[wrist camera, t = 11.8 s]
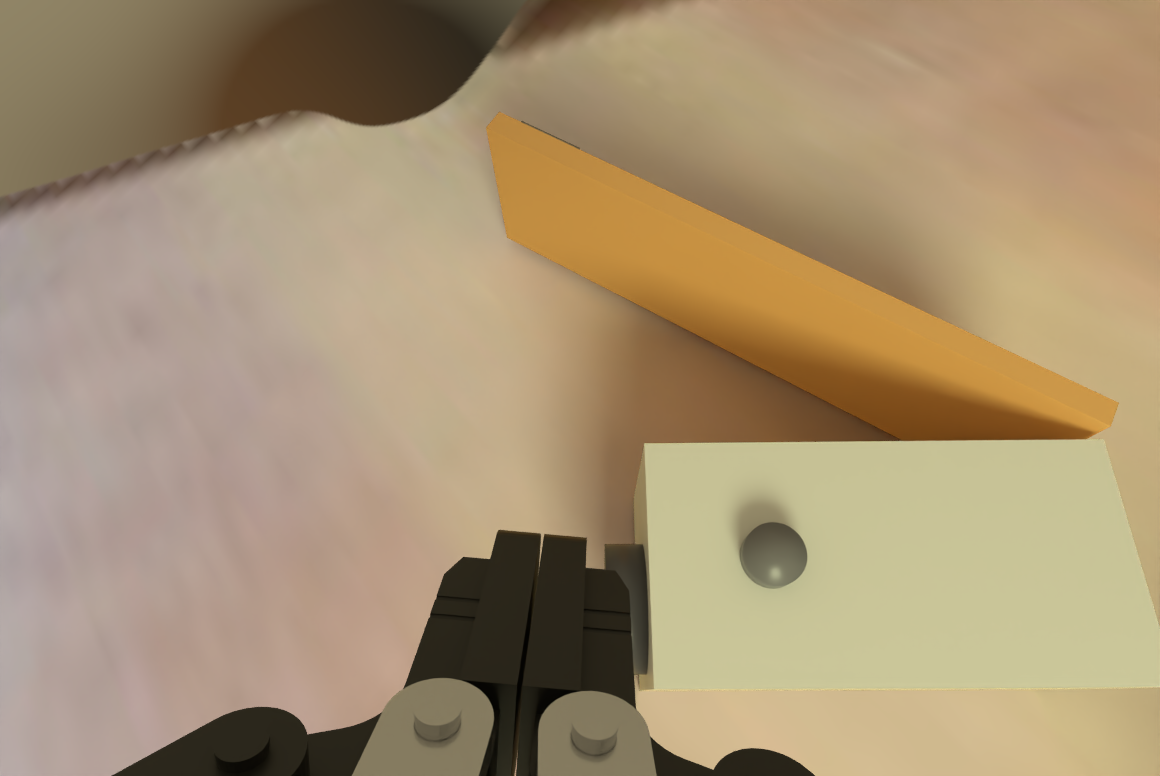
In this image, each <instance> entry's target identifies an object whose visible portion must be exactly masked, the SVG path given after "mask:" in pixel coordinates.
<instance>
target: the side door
mask: <svg viewBox="0 0 1160 776" xmlns="http://www.w3.org/2000/svg"><path fill="white" fill-rule="evenodd" d="M486 130H487V135H488V140H489V145H490V150H491V156H492V161H493V166H494V171H495V177H496V182H497V187H498V192H499V197H500V203H501V208H502V213H503V218H504V223H505V229H506V234H507V238H509V239H511V240H513V241H515V242H517V243H519V244H521V245H523V246H525V247H527V248H529V249H530V250H532V251H534V252H536V253H538V254H540V255H542V256H544V257H546V258H548V259H550V260H552V261H554V262H556V263H558V264H560V265H562V266H564V267H566V268H567V269H569V270H571V271H573V272H575V273H577V274H579V275H581V276H583V277H585V278H587V279H589V280H591V281H593V282H595V283H597V284H599V285H601V286H602V287H604V288H606V289H608V290H610V291H612V292H614V293H616V294H618V295H620V296H622V297H624V298H626V299H628V300H630V301H632V302H634V303H636V304H638V305H639V306H641V307H643V308H645V309H647V310H649V311H651V312H653V313H655V314H657V315H659V316H661V317H663V318H665V319H667V320H669V321H671V322H673V323H675V324H676V325H678V326H680V327H682V328H684V329H686V330H688V331H690V332H692V333H694V334H696V335H698V336H700V337H702V338H704V339H706V340H708V341H710V342H712V343H713V344H715V345H717V346H719V347H721V348H723V349H725V350H727V351H729V352H731V353H733V354H735V355H737V356H739V357H741V358H743V359H745V360H747V361H749V362H750V363H752V364H754V365H756V366H758V367H760V368H762V369H764V370H766V371H768V372H770V373H772V374H774V375H776V376H778V377H780V378H782V379H784V380H786V381H787V382H789V383H791V384H793V385H795V386H797V387H799V388H801V389H803V390H805V391H807V392H809V393H811V394H813V395H815V396H817V397H819V398H821V399H823V400H824V401H826V402H828V403H830V404H832V405H834V406H836V407H838V408H840V409H842V410H844V411H846V412H848V413H850V414H852V415H854V416H856V417H858V418H860V419H861V420H863V421H865V422H867V423H869V424H871V425H873V426H875V427H877V428H879V429H881V430H883V431H885V432H887V433H889V434H891V435H893V436H895V437H896V438H898V439H900V440H902V441H965V440H1076V439H1087V438H1089V437H1091V436H1093V435H1095V434H1097V433H1099V432H1100V431H1102V430H1104V429H1106V428H1108V427H1110V426H1111V424H1112V421H1113V418H1114V415H1115V412H1116V410H1117V407H1118V404H1119V403H1118V402H1116V401H1114V400H1111V399H1109V398H1107V397H1105V396H1103V395H1101V394H1099V393H1097V392H1094V391H1092V390H1090V389H1088V388H1086V387H1084V386H1082V385H1080V384H1077V383H1075V382H1073V381H1071V380H1069V379H1067V378H1065V377H1063V376H1060V375H1058V374H1056V373H1054V372H1052V371H1050V370H1048V369H1045V368H1043V367H1041V366H1039V365H1037V364H1035V363H1033V362H1031V361H1028V360H1026V359H1024V358H1022V357H1020V356H1018V355H1016V354H1014V353H1011V352H1009V351H1007V350H1005V349H1003V348H1001V347H999V346H997V345H994V344H992V343H990V342H988V341H986V340H984V339H982V338H980V337H977V336H975V335H973V334H971V333H969V332H967V331H965V330H962V329H960V328H958V327H956V326H954V325H952V324H950V323H948V322H945V321H943V320H941V319H939V318H937V317H935V316H933V315H931V314H928V313H926V312H924V311H922V310H920V309H918V308H916V307H914V306H911V305H909V304H907V303H905V302H903V301H901V300H899V299H897V298H894V297H892V296H890V295H888V294H886V293H884V292H882V291H880V290H877V289H875V288H873V287H871V286H869V285H867V284H865V283H862V282H860V281H858V280H856V279H854V278H852V277H850V276H848V275H845V274H843V273H841V272H839V271H837V270H835V269H833V268H831V267H828V266H826V265H824V264H822V263H820V262H818V261H816V260H814V259H811V258H809V257H807V256H805V255H803V254H801V253H799V252H797V251H794V250H792V249H790V248H788V247H786V246H784V245H782V244H780V243H777V242H775V241H773V240H771V239H769V238H767V237H765V236H762V235H760V234H758V233H756V232H754V231H752V230H750V229H748V228H745V227H743V226H741V225H739V224H737V223H735V222H733V221H731V220H728V219H726V218H724V217H722V216H720V215H718V214H716V213H714V212H711V211H709V210H707V209H705V208H703V207H701V206H699V205H697V204H694V203H692V202H690V201H688V200H686V199H684V198H682V197H679V196H677V195H675V194H673V193H671V192H669V191H667V190H665V189H662V188H660V187H658V186H656V185H654V184H652V183H650V182H648V181H645V180H643V179H641V178H639V177H637V176H635V175H633V174H631V173H628V172H626V171H624V170H622V169H620V168H618V167H616V166H614V165H611V164H609V163H607V162H605V161H603V160H601V159H599V158H597V157H594V156H592V155H590V154H588V153H586V152H584V151H582V150H580V148H578V147H576V146H574V145H572V144H570V143H568V142H566V141H563V140H561V139H559V138H557V137H555V136H553V135H551V134H549V133H546V132H544V131H542V130H540V129H538V128H536V127H534V126H531V125H529V124H527V123H525V122H523V121H521V122H520V121H518V120H516V119H514V118H511V117H509V116H507V115H505V114H503V113H501V112H499V113H498V114H497V115H496V116H495V118H494V119H493V120H492V121H491V122H490V124H489V125H488V126H487V127H486Z"/></svg>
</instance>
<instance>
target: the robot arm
mask: <svg viewBox="0 0 1160 776" xmlns="http://www.w3.org/2000/svg"><path fill="white" fill-rule="evenodd" d="M586 543H587V538H583V537H572V536H560V535H549V534H544V540H543V547H542V553H541V560H540V567H539V558H540V544H541V534H539V533H528V532H517V531H505V530H498V532H497V536H496V539H495V543H494V547H493V551H492V555H491V559H481V558H469V557H463V558H462V559H461V560H459V561H458V562H457V563H456V564H455V565H454V566H453V567H452V568H451V569H449V570H448V571H447V572H446V573H445V574H444V576H443V579H442V582H441V585H440V588H439V591H438V593H437V598H436V600H435V602H434V605H433V608H432V610H431V614H430V618H429V619H428V622H427V625H426V627H425V630H424V633H423V636H422V639H421V641H420V644H419V647H418V650H417V653H416V656H415V658H414V661H413V664H412V667H411V670H410V673H409V675H408V678H407V681H406V684H405V686H404V688H403V690H401V691H399V692H398V693H397V694H396V695H395V696H393V697H392V699H391V700H390V701H389V702H388V703H387V705H386V707H385V708H384V710H383V712H382V713H380V714H379V715H377V716H375V717H374V718H372V719H370V720H367V721H365V722H363V723H360V724H357V725H354V726H351V727H346V728H342V729H336V730H331V731H325V732H319V733H314V734H308V735H307V732H306V729H305V727H304V725H303V724H302V722H301V721H300V720H299V719H298V718H297V717H295V716H294V715H293V714H291V713H289V712H287V711H284V710H281V709H278V708H271V707H254V708H246V709H242V710H238V711H234V712H231V713H229V714H226V715H223V716H221V717H219V718H217V719H215V720H213V721H211V722H209V723H208V724H206V725H204V726H202V727H200V728H198V729H197V730H195V731H193V732H191V733H189V734H187V735H186V736H184V737H182V738H180V739H178V740H176V741H175V742H173V743H171V744H169V745H167V746H165V747H164V748H162V749H160V750H158V751H156V752H154V753H153V754H151V755H149V756H147V757H145V758H143V759H142V760H140V761H138V762H136V763H134V764H132V765H131V766H129V767H127V768H125V769H123V770H122V771H120V772H118V773H116V774H114V775H112V776H514V774H515V767H516V760H517V770H516V776H815V775H814V774H813V773H811V772H810V771H809V770H808V769H806V768H805V767H804V766H803V765H801V764H800V763H798V762H796V761H795V760H793V759H791V758H789V757H787V756H785V755H783V754H780V753H777V752H774V751H771V750H765V749H756V748H750V749H741V750H738V751H734V752H732V753H730V754H728V755H726V756H725V757H724V758H722V759H721V760H720V761H719V762H718V764H717V765H716V766H715V768H714V770H712V769H710V768H707V767H704V766H702V765H699V764H696V763H694V762H691V761H688V760H686V759H683V758H681V757H679V756H676V755H674V754H673V753H671V752H669V751H667V750H666V749H664V748H663V747H662V746H660V745H659V744H658V743H656V742H655V741H654V740H653V739H652V738H651V737H650V734H649V730H648V726H647V724H646V722H645V720H644V718H643V717H642V716H641V714H640V713H639V712H638V711H637V710H636V703H635V685H634V667H633V649H632V636H631V617H630V594H629V590H628V588H627V587H626V585H625V584H624V582H623V581H622V579H621V578H620V576H619V575H618V573H617V572H616V571H615V570H603V569H592V568H586ZM538 572H539V574H538ZM517 753H518V756H517Z"/></svg>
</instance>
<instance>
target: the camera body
mask: <svg viewBox="0 0 1160 776" xmlns="http://www.w3.org/2000/svg"><path fill="white" fill-rule="evenodd" d="M633 504H634V535H635V544H605V558H604V569H605V570H615V571H616V572H617V573H618V575H619V576H620V578H621V579H622V581H623V582H624V584H625V585H626V587H627V588H628V590H629V594H630V617H631V636H632V649H633V667H634V675H639V690H640V691H692V690H981V689H1090V688H1159V687H1160V626H1159V623H1158V620H1157V616H1156V613H1155V610H1154V606H1153V603H1152V600H1151V596H1150V593H1149V589H1148V586H1147V583H1146V579H1145V576H1144V573H1143V569H1142V566H1141V563H1140V559H1139V556H1138V552H1137V549H1136V546H1135V542H1134V539H1133V536H1132V532H1131V529H1130V526H1129V522H1128V519H1127V516H1126V512H1125V509H1124V505H1123V502H1122V499H1121V495H1120V492H1119V489H1118V485H1117V482H1116V479H1115V475H1114V472H1113V469H1112V465H1111V462H1110V458H1109V455H1108V452H1107V448H1106V445H1105V442H1104V439H1076V440H965V441H854V442H743V443H644V448H643V453H642V458H641V463H640V468H639V473H638V478H637V484H636V489H635V494H634V499H633Z"/></svg>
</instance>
